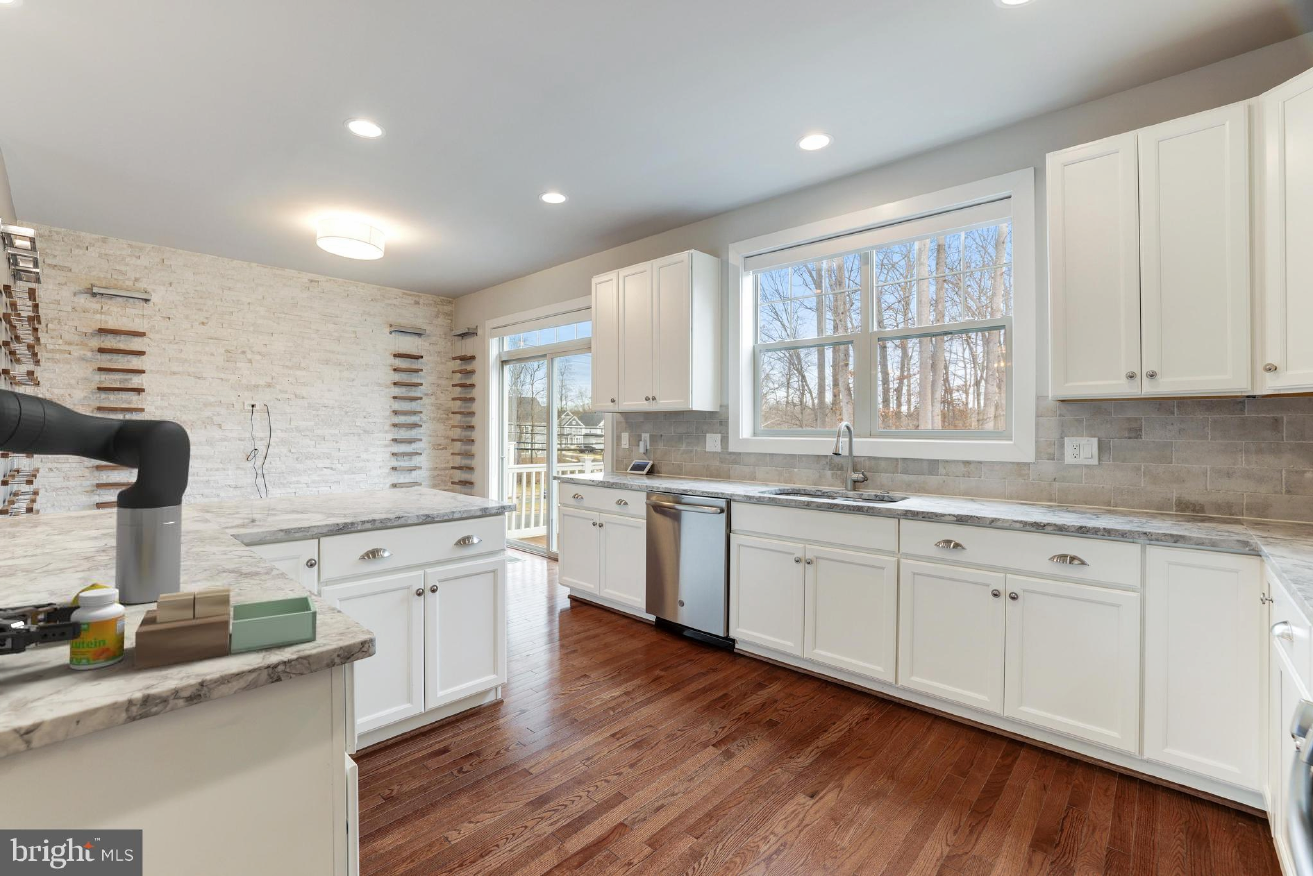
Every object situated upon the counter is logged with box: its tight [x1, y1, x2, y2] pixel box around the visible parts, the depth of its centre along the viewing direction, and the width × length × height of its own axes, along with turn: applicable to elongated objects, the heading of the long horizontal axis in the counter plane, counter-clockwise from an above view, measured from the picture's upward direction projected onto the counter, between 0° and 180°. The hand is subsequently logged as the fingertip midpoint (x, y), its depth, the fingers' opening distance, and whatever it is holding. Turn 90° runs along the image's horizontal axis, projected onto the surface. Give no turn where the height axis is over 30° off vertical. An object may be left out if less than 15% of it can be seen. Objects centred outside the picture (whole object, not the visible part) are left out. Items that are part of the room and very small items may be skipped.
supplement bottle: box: [69, 587, 126, 671], centre depth 80 cm, size 5×5×10 cm
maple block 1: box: [156, 590, 197, 623], centre depth 84 cm, size 4×4×3 cm
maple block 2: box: [195, 587, 231, 618], centre depth 87 cm, size 4×4×3 cm
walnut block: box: [134, 608, 231, 670], centre depth 85 cm, size 11×10×5 cm
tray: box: [230, 595, 317, 654], centre depth 91 cm, size 10×11×4 cm
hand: (88, 620), depth 79 cm, fingers open, 8 cm apart
